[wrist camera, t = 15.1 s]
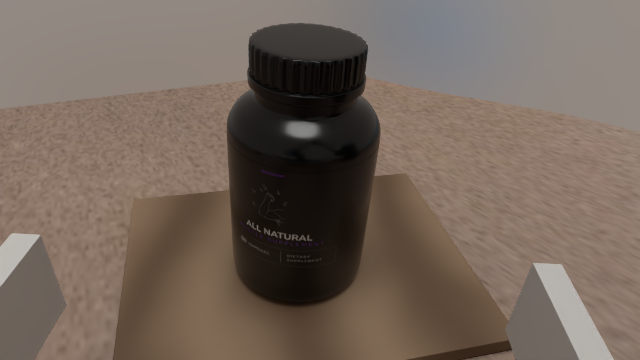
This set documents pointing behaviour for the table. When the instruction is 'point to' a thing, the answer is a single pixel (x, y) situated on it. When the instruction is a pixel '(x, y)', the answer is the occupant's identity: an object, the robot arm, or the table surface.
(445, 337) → the board
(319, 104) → the supplement bottle
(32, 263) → the robot arm
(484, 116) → the table surface
